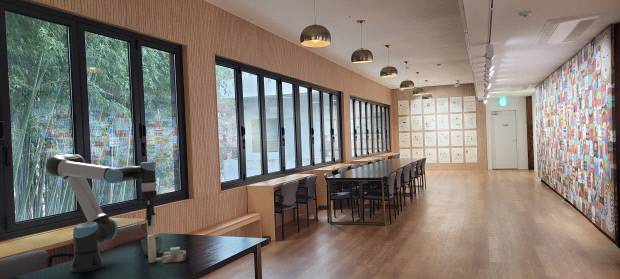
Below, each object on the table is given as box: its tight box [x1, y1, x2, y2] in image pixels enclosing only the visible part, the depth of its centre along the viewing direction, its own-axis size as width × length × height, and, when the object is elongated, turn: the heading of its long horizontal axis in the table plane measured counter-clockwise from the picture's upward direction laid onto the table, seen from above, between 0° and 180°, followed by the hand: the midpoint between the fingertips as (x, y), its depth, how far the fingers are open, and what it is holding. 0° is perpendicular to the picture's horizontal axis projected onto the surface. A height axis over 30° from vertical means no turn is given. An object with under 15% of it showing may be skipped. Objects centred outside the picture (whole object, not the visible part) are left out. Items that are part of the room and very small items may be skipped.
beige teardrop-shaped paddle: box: [146, 234, 181, 264], centre depth 247 cm, size 16×5×14 cm, turn 104°
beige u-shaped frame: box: [161, 249, 187, 264], centre depth 249 cm, size 12×9×4 cm
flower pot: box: [140, 236, 163, 256], centre depth 264 cm, size 9×9×9 cm
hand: (151, 229), depth 246 cm, fingers open, 13 cm apart
